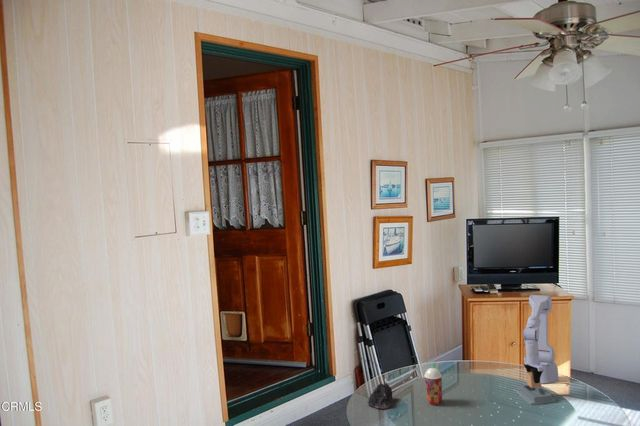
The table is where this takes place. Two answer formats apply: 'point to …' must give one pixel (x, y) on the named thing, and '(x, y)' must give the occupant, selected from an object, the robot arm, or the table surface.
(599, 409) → the table surface
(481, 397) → the table surface
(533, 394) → the well board
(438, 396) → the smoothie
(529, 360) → the robot arm
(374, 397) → the crystal cluster
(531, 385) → the wooden block
